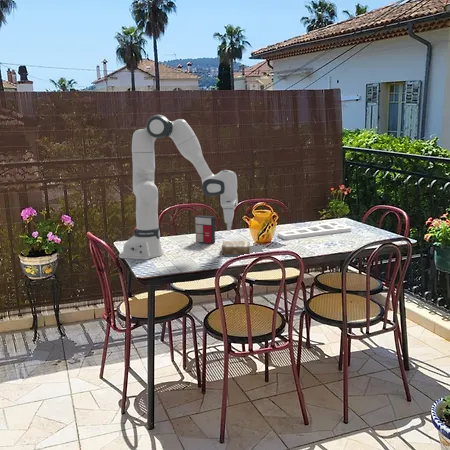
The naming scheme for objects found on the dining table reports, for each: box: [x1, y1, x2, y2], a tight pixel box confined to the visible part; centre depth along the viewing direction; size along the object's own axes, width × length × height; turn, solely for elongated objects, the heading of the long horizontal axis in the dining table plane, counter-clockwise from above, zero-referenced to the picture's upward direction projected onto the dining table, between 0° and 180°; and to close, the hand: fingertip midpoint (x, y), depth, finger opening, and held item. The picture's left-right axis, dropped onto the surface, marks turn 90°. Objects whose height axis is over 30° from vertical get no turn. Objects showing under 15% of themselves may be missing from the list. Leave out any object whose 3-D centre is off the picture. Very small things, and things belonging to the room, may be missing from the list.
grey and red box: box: [194, 214, 216, 245], centre depth 264 cm, size 11×4×15 cm, turn 62°
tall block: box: [221, 240, 251, 255], centre depth 246 cm, size 4×11×14 cm
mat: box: [224, 245, 266, 258], centre depth 246 cm, size 21×18×1 cm
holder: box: [277, 221, 352, 240], centre depth 283 cm, size 45×18×3 cm, turn 111°
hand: (229, 228), depth 244 cm, fingers open, 8 cm apart
